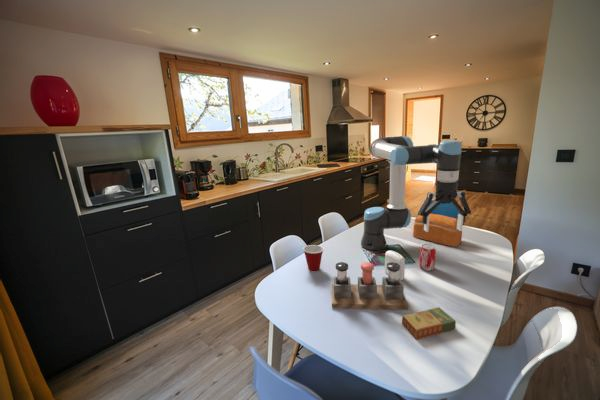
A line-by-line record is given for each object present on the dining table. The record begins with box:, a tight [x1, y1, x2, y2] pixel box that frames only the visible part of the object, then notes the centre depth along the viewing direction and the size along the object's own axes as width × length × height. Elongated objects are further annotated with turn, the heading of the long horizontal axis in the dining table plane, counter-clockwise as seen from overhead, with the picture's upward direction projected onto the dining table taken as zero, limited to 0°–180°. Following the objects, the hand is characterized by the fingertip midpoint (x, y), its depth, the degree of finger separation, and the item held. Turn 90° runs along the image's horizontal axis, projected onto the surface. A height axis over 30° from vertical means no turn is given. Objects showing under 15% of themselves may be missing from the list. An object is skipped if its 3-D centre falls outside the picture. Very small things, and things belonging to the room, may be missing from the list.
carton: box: [401, 306, 457, 340], centre depth 95 cm, size 8×16×4 cm, turn 104°
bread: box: [412, 213, 463, 248], centre depth 165 cm, size 14×26×16 cm, turn 44°
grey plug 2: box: [387, 262, 400, 285], centre depth 109 cm, size 5×5×9 cm
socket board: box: [331, 276, 409, 311], centre depth 112 cm, size 30×14×8 cm, turn 84°
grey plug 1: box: [335, 261, 349, 285], centre depth 112 cm, size 5×5×9 cm
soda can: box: [418, 243, 437, 272], centre depth 132 cm, size 7×7×12 cm
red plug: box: [360, 261, 375, 285], centre depth 110 cm, size 5×5×9 cm
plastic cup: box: [302, 244, 325, 273], centre depth 138 cm, size 11×11×12 cm
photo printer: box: [384, 250, 406, 281], centre depth 127 cm, size 10×4×12 cm, turn 26°
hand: (442, 230), depth 111 cm, fingers open, 13 cm apart
